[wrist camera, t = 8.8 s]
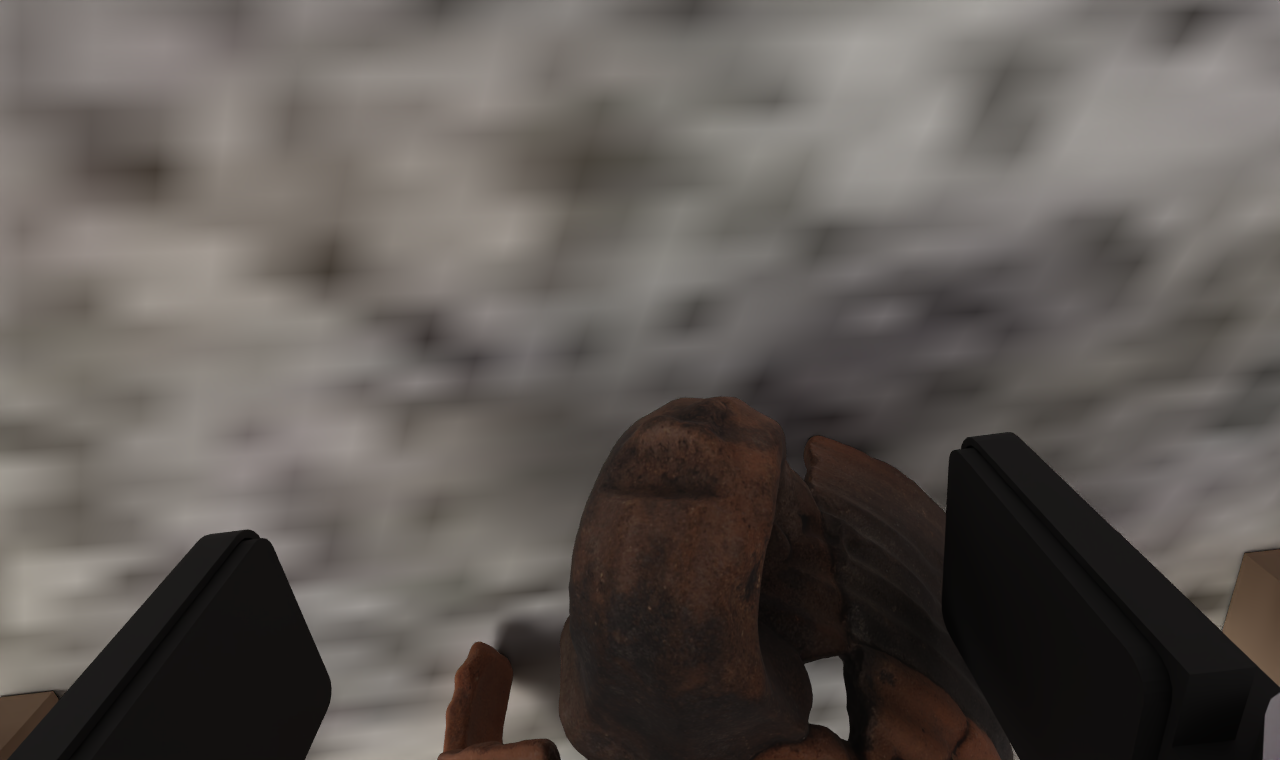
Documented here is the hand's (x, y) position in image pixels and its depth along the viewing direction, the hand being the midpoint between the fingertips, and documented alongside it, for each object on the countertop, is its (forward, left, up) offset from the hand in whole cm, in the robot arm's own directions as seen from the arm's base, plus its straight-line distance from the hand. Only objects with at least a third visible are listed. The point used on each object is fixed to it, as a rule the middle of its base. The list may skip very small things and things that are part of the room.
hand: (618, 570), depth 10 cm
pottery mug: (+3, +1, -3) cm, 5 cm away
